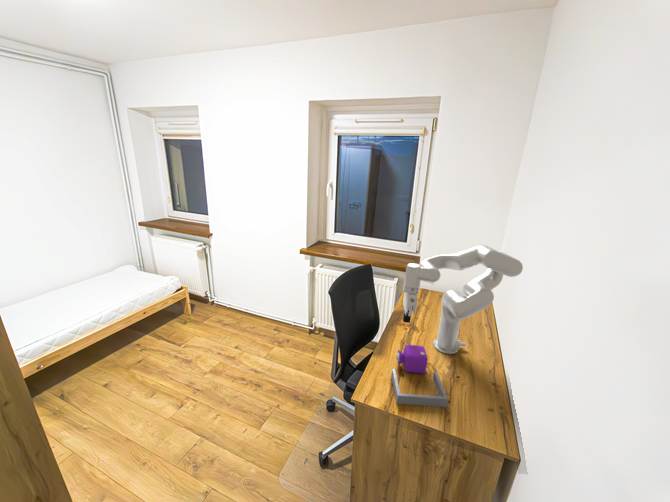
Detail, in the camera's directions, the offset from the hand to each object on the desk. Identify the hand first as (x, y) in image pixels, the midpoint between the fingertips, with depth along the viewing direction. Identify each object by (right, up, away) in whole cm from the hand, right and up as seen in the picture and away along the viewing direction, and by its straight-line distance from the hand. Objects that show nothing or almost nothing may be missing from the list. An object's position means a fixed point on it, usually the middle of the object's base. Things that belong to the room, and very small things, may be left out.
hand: (406, 321), depth 144 cm
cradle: (-2, -23, -24) cm, 33 cm away
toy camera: (-1, -19, -11) cm, 22 cm away
